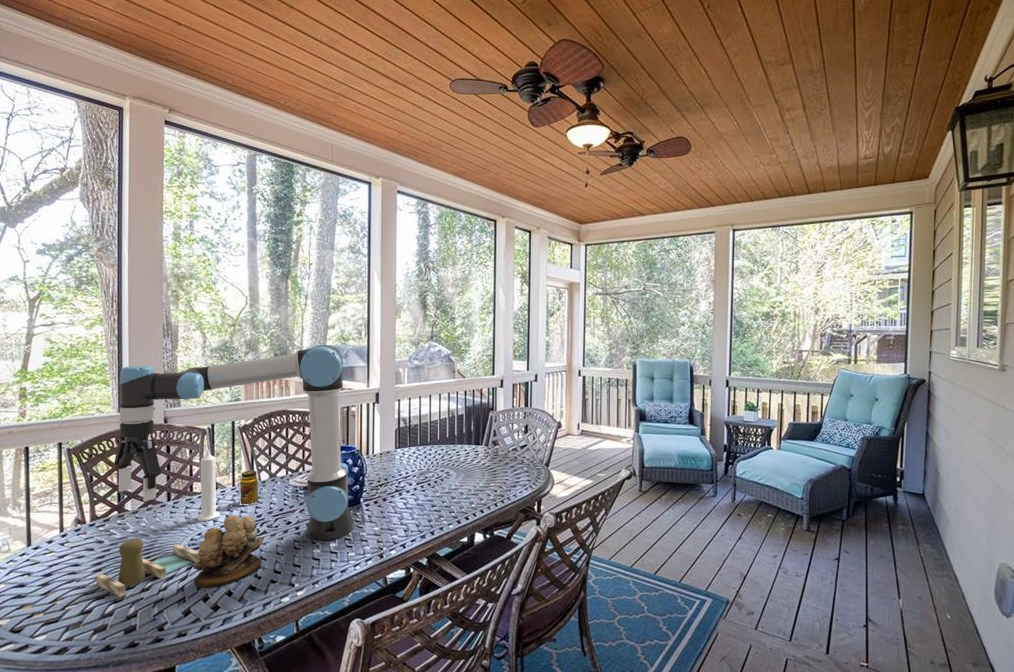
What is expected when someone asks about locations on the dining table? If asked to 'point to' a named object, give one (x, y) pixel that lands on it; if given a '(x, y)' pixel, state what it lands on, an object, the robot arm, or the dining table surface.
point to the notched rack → (153, 568)
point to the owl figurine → (228, 553)
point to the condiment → (249, 487)
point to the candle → (208, 488)
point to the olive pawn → (131, 563)
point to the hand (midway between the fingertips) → (136, 495)
